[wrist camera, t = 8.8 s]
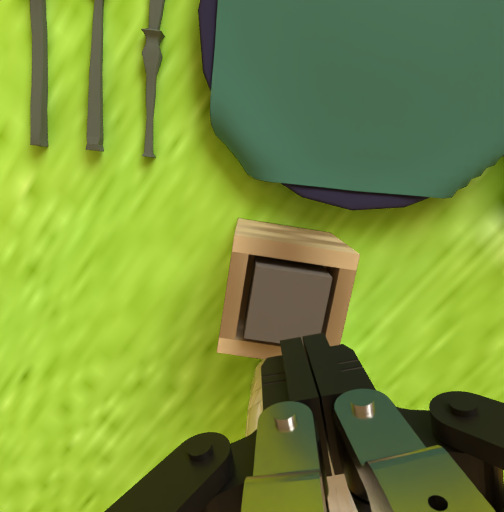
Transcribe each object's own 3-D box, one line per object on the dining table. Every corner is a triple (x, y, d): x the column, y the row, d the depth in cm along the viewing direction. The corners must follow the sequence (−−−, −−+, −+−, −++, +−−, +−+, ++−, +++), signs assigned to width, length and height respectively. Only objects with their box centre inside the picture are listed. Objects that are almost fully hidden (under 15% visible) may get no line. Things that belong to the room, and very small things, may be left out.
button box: (330, 232, 25) (360, 254, 18) (312, 319, 26) (334, 369, 19) (238, 218, 24) (234, 234, 18) (224, 306, 26) (216, 352, 19)
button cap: (322, 265, 20) (332, 277, 18) (309, 328, 21) (317, 348, 19) (255, 254, 20) (255, 266, 18) (244, 318, 21) (244, 338, 18)
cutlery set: (496, 222, 25) (521, 227, 23) (34, 177, 25) (12, 177, 22) (577, -138, 21) (616, -177, 19) (28, -199, 21) (0, -244, 18)
